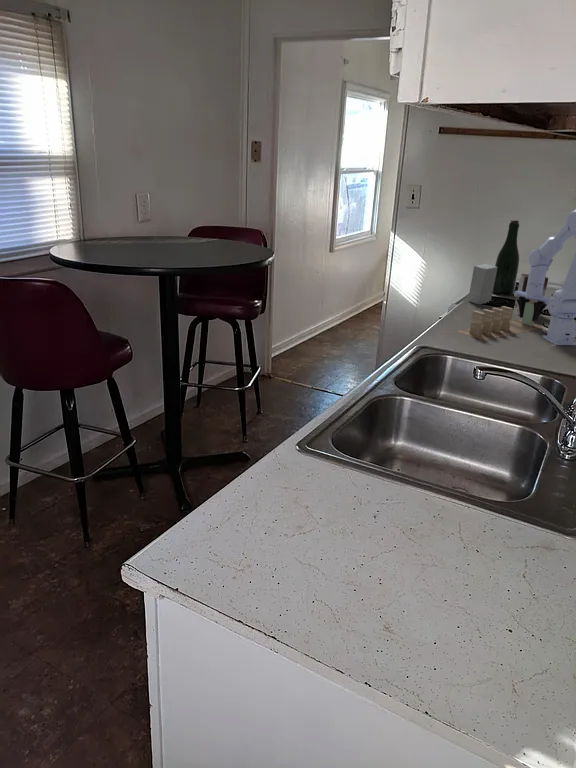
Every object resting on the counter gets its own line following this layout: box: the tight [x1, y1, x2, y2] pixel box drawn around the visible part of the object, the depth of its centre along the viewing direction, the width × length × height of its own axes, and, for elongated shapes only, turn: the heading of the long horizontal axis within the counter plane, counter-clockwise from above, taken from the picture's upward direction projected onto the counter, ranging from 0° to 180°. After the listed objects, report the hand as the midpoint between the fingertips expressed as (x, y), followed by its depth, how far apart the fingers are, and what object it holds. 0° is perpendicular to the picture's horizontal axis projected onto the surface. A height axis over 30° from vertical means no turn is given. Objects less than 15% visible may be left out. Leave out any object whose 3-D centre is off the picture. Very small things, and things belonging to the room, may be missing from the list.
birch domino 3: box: [491, 307, 504, 332], centre depth 214 cm, size 2×4×8 cm, turn 35°
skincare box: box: [467, 263, 497, 305], centre depth 256 cm, size 8×7×16 cm
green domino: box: [521, 302, 535, 326], centre depth 224 cm, size 2×4×8 cm, turn 35°
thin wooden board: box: [456, 318, 543, 341], centre depth 218 cm, size 37×12×1 cm, turn 125°
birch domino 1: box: [469, 310, 485, 336], centre depth 208 cm, size 2×4×8 cm, turn 35°
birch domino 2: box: [481, 308, 495, 334], centre depth 211 cm, size 2×4×8 cm, turn 35°
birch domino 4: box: [500, 305, 514, 331], centre depth 216 cm, size 2×4×8 cm, turn 34°
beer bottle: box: [492, 219, 520, 296], centre depth 272 cm, size 10×10×33 cm
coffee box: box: [513, 273, 549, 318], centre depth 238 cm, size 9×6×16 cm
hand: (528, 319), depth 225 cm, fingers open, 5 cm apart
